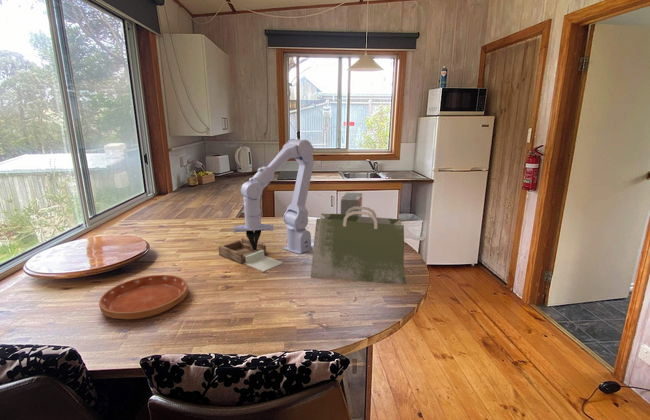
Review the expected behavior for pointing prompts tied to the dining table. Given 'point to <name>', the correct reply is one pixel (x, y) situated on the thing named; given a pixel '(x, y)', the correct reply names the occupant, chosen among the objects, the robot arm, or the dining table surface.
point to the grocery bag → (359, 247)
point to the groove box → (239, 250)
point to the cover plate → (261, 261)
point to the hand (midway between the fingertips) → (254, 249)
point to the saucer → (143, 297)
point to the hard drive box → (351, 203)
